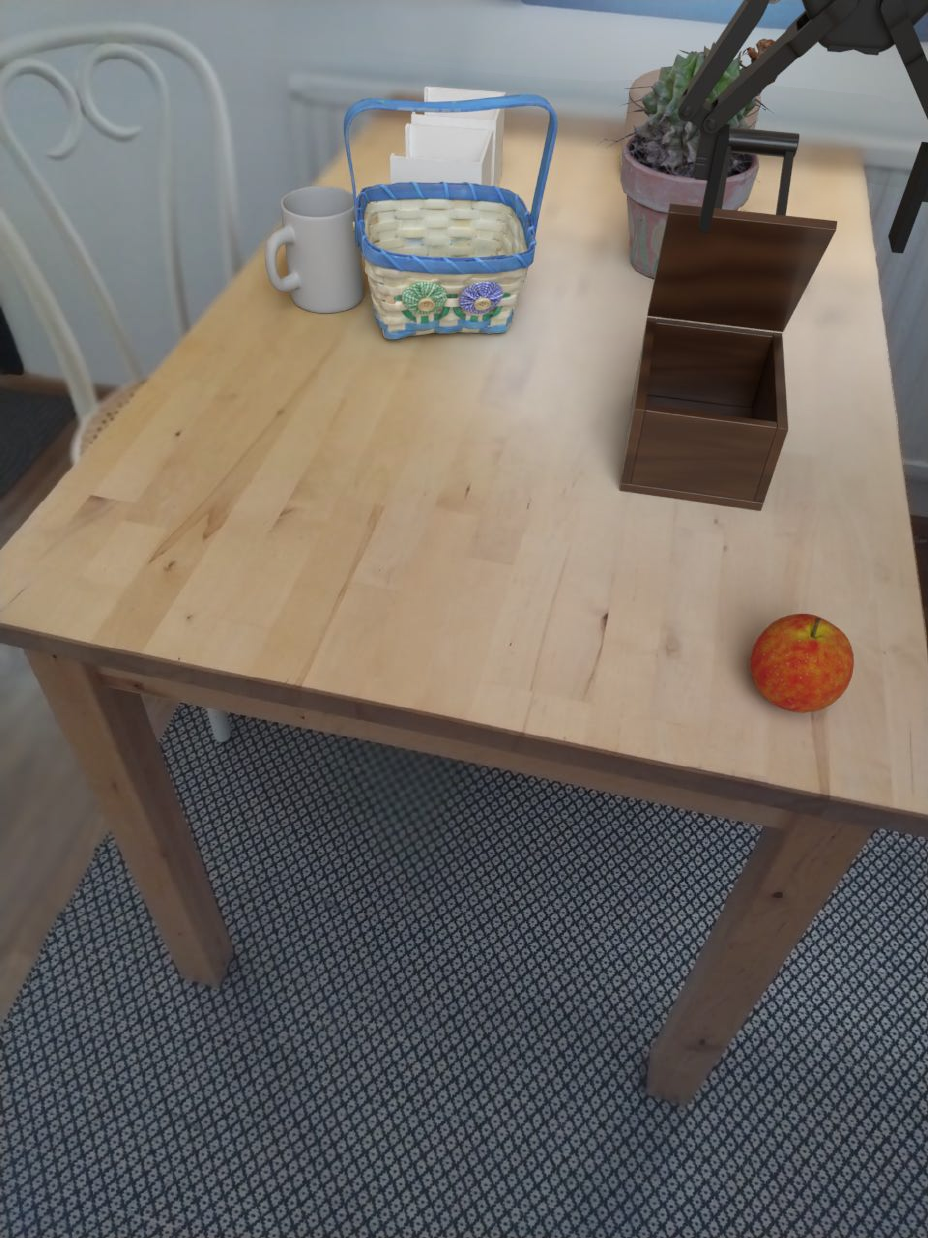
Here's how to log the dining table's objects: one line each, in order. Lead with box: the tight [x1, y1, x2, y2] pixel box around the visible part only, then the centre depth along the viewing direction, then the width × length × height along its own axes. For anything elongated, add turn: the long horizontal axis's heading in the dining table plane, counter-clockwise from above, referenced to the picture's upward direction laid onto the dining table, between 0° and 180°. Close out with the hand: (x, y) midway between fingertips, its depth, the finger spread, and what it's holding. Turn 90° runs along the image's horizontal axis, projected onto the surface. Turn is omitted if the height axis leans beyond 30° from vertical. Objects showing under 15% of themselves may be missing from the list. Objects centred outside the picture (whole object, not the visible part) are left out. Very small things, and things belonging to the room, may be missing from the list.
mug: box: [264, 185, 365, 314], centre depth 103 cm, size 12×8×11 cm
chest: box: [619, 316, 789, 511], centre depth 86 cm, size 16×13×9 cm
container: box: [620, 68, 762, 164], centre depth 130 cm, size 18×18×12 cm
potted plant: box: [597, 38, 779, 279], centre depth 106 cm, size 18×20×25 cm
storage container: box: [389, 86, 507, 220], centre depth 121 cm, size 25×11×11 cm, turn 172°
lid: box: [646, 127, 838, 333], centre depth 80 cm, size 17×13×10 cm
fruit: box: [749, 613, 855, 714], centre depth 66 cm, size 7×7×8 cm
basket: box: [343, 93, 558, 340], centre depth 96 cm, size 21×16×24 cm
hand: (798, 235), depth 67 cm, fingers open, 13 cm apart
